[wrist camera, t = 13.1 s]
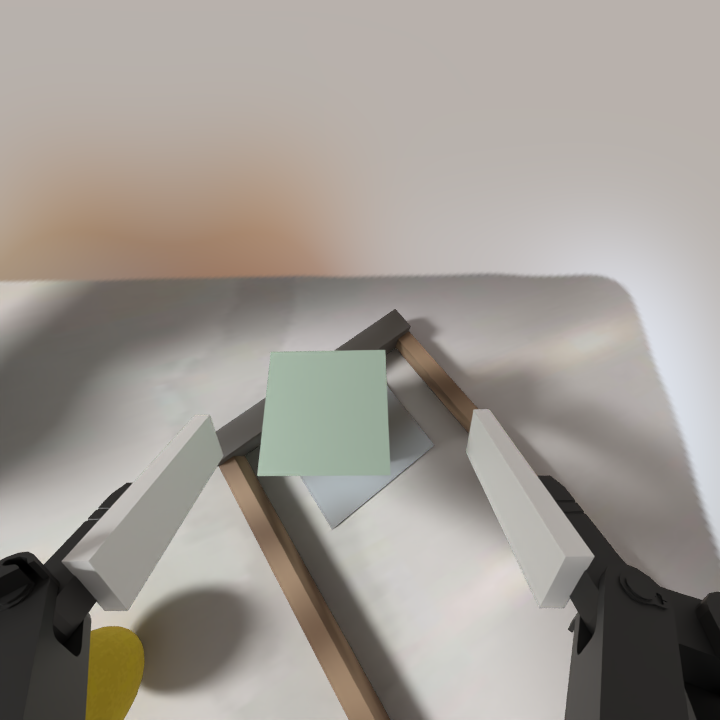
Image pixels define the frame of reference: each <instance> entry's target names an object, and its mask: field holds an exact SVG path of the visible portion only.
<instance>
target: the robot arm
mask: <svg viewBox="0 0 720 720" xmlns="http://www.w3.org/2000/svg"><path fill="white" fill-rule="evenodd" d="M466 453H467V455H468V458H469V460H470V462H471V464H472V466H473V468H474V470H475V472H476V475H477V477H478V479H479V481H480V483H481V485H482V487H483V489H484V492H485V494H486V496H487V498H488V500H489V502H490V504H491V506H492V509H493V511H494V513H495V515H496V517H497V519H498V521H499V523H500V526H501V528H502V530H503V532H504V534H505V536H506V538H507V540H508V543H509V545H510V547H511V549H512V551H513V553H514V555H515V557H516V560H517V562H518V564H519V566H520V568H521V570H522V572H523V574H524V577H525V579H526V581H527V583H528V585H529V587H530V589H531V591H532V594H533V596H534V598H535V600H536V602H537V604H538V606H539V608H564V607H565V606H566V604H567V602H568V601H569V599H571V600H572V602H573V604H574V606H575V607H576V609H577V611H578V613H577V614H576V616H575V617H574V619H573V620H572V622H571V624H570V626H569V628H568V630H569V631H571V632H573V631H574V638H573V647H572V656H571V665H570V674H569V683H568V692H567V701H566V710H565V720H720V592H714V593H709V594H708V595H707V596H706V597H705V598H704V599H703V600H700V599H697V598H694V597H691V596H687V595H684V594H681V593H678V592H674V591H671V590H668V589H665V588H662V587H660V586H659V585H658V584H657V583H655V582H654V581H653V580H652V579H651V578H650V577H649V576H647V575H646V574H644V573H643V572H641V571H640V570H638V569H637V568H634V567H632V566H629V565H627V564H626V563H625V562H624V561H623V560H622V559H621V558H620V557H619V555H618V554H617V553H616V552H615V550H614V549H613V548H612V546H611V545H610V544H609V543H608V541H607V540H606V539H605V538H604V536H603V535H602V534H601V533H600V531H599V530H598V529H597V528H596V526H595V525H594V524H593V522H592V521H591V520H590V519H589V517H588V516H587V515H586V514H584V511H583V510H582V509H581V507H580V506H579V505H578V504H577V503H575V500H574V498H573V497H572V496H571V495H570V493H569V492H568V491H567V490H566V488H565V487H564V486H563V485H561V484H560V483H559V482H557V481H556V480H555V479H554V478H552V477H551V476H537V475H536V474H535V472H534V471H533V469H532V468H531V467H530V465H529V464H528V463H527V461H526V460H525V458H524V457H523V456H522V454H521V453H520V451H519V450H518V449H517V447H516V446H515V444H514V443H513V442H512V440H511V439H510V437H509V436H508V435H507V433H506V432H505V430H504V429H503V428H502V426H501V425H500V423H499V422H498V421H497V419H496V418H495V416H494V415H493V414H492V412H491V411H490V409H474V410H473V415H472V421H471V426H470V432H469V437H468V442H467V448H466ZM222 457H223V453H222V450H221V447H220V444H219V441H218V438H217V435H216V432H215V429H214V426H213V423H212V420H211V417H210V415H194V416H193V417H192V419H191V420H190V421H189V422H188V423H187V424H186V425H185V426H184V427H183V428H182V430H181V431H180V432H179V433H178V434H177V435H176V436H175V437H174V438H173V439H172V441H171V442H170V443H169V444H168V445H167V446H166V447H165V448H164V449H163V450H162V452H161V453H160V454H159V455H158V456H157V457H156V458H155V459H154V460H153V461H152V462H151V464H150V465H149V466H148V467H147V468H146V469H145V470H144V471H143V472H142V473H141V475H140V476H139V477H138V478H137V479H136V480H135V481H134V482H133V483H126V484H125V485H123V486H122V487H120V488H119V489H118V490H116V491H115V492H113V493H112V494H111V495H110V496H109V497H108V498H107V499H106V500H105V501H104V502H103V503H102V504H101V505H100V506H99V509H98V510H96V511H95V512H94V513H93V514H92V515H91V516H90V517H89V518H88V521H85V522H84V523H83V524H82V525H81V526H80V527H79V528H78V529H77V530H76V532H75V533H74V534H73V535H72V536H71V537H70V538H69V539H68V540H67V541H66V542H65V543H64V544H63V545H62V546H61V547H60V548H59V549H58V550H57V551H56V552H55V554H54V555H53V556H52V557H51V558H50V559H49V560H48V561H47V562H46V563H45V564H44V565H43V564H42V563H41V562H40V561H39V560H38V559H37V557H36V556H35V555H34V554H32V553H30V552H22V553H17V554H14V555H11V556H9V557H6V558H4V559H2V560H0V720H85V718H86V701H87V684H88V668H89V651H90V634H91V617H90V614H89V613H88V612H89V611H90V610H91V608H92V607H93V605H94V604H95V603H96V601H97V603H98V604H99V605H100V606H101V607H102V608H103V609H104V611H128V610H129V608H130V607H131V605H132V603H133V602H134V600H135V598H136V597H137V595H138V594H139V592H140V590H141V589H142V587H143V586H144V584H145V582H146V581H147V579H148V577H149V576H150V574H151V573H152V571H153V569H154V568H155V566H156V564H157V563H158V561H159V560H160V558H161V556H162V555H163V553H164V551H165V550H166V548H167V547H168V545H169V543H170V542H171V540H172V538H173V537H174V535H175V534H176V532H177V530H178V529H179V527H180V526H181V524H182V522H183V521H184V519H185V517H186V516H187V514H188V513H189V511H190V509H191V508H192V506H193V504H194V503H195V501H196V500H197V498H198V496H199V495H200V493H201V491H202V490H203V488H204V487H205V485H206V483H207V482H208V480H209V479H210V477H211V475H212V474H213V472H214V470H215V469H216V467H217V466H218V464H219V462H220V461H221V459H222Z"/></svg>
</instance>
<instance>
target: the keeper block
mask: <svg viewBox="0 0 720 720" xmlns="http://www.w3.org/2000/svg"><path fill="white" fill-rule="evenodd" d="M362 475H390V451H389V427H388V402H387V378H386V354H385V350H352V351H296V352H271V355H270V364H269V373H268V382H267V391H266V400H265V409H264V418H263V427H262V436H261V446H260V455H259V464H258V473H257V476H362Z"/></svg>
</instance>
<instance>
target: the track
mask: <svg viewBox="0 0 720 720" xmlns="http://www.w3.org/2000/svg"><path fill="white" fill-rule="evenodd" d="M409 329H410V325H409V324H408V323H407V321H406V320H405V319H404V318H403V317H402V316H401V315H400V314H399V313H398V311H397V310H396V309H394V310H393V311H392V312H390V313H389V314H387V315H386V316H384V317H383V318H381V319H380V320H378V321H377V322H375V323H374V324H373V325H371V326H370V327H368V328H367V329H365V330H364V331H362V332H361V333H359V334H358V335H356V336H355V337H354V338H352V339H351V340H349V341H348V342H346V343H345V344H343V345H342V346H340V347H339V348H337V349H336V350H335V351H352V350H385V354H388V353H389V352H391V351H392V350H393V349H395V348H396V349H397V350H398V351H399V352H400V353H401V355H402V356H403V357H404V358H405V359H406V360H407V362H408V363H409V364H410V365H411V366H412V367H413V369H414V370H415V371H416V372H417V373H418V375H419V376H420V377H421V378H422V379H423V380H424V382H425V383H426V384H427V385H428V386H429V387H430V389H431V390H432V391H433V392H434V393H435V394H436V396H437V397H438V398H439V399H440V400H441V401H442V403H443V404H444V405H445V406H446V407H447V409H448V410H449V411H450V412H451V413H452V414H453V416H454V417H455V418H456V419H457V420H458V421H459V423H460V424H461V425H462V426H463V427H464V428H465V430H466V431H467V432H468V433H469V432H470V426H471V421H472V415H473V410H474V409H478V408H477V407H476V406H475V405H474V404H473V403H472V401H471V400H470V399H469V398H468V397H467V396H466V395H465V394H464V392H463V391H462V390H461V389H460V388H459V387H458V386H457V385H456V383H455V382H454V381H453V380H452V379H451V378H450V377H449V376H448V375H447V373H446V372H445V371H444V370H443V369H442V368H441V367H440V366H439V364H438V363H437V362H436V361H435V360H434V359H433V358H432V357H431V355H430V354H429V353H428V352H427V351H426V350H425V349H424V348H423V347H422V345H421V344H420V343H419V342H418V341H417V340H416V339H415V338H414V336H413V335H412V334H411V333H410V332H409ZM265 400H266V398H264V399H263V400H261V401H260V402H259V403H257V404H256V405H254V406H253V407H251V408H250V409H248V410H247V411H245V412H244V413H242V414H241V415H240V416H238V417H237V418H235V419H234V420H232V421H231V422H229V423H228V424H226V425H225V426H223V427H222V428H221V429H219V430H218V431H216V435H217V438H218V441H219V444H220V447H221V450H222V453H223V457H222V459H221V461H220V462H219V464H218V466H219V468H220V470H221V471H222V473H223V475H224V477H225V479H226V481H227V483H228V485H229V487H230V489H231V491H232V493H233V495H234V497H235V499H236V501H237V503H238V505H239V507H240V509H241V510H242V512H243V514H244V516H245V518H246V520H247V522H248V524H249V526H250V528H251V530H252V532H253V534H254V536H255V538H256V540H257V542H258V544H259V546H260V548H261V549H262V551H263V553H264V555H265V557H266V559H267V561H268V563H269V565H270V567H271V569H272V571H273V573H274V575H275V577H276V579H277V581H278V583H279V585H280V587H281V588H282V590H283V592H284V594H285V596H286V598H287V600H288V602H289V604H290V606H291V608H292V610H293V612H294V614H295V616H296V618H297V620H298V622H299V624H300V626H301V627H302V629H303V631H304V633H305V635H306V637H307V639H308V641H309V643H310V645H311V647H312V649H313V651H314V653H315V655H316V657H317V659H318V661H319V663H320V665H321V666H322V668H323V670H324V672H325V674H326V676H327V678H328V680H329V682H330V684H331V686H332V688H333V690H334V692H335V694H336V696H337V698H338V700H339V702H340V704H341V705H342V707H343V709H344V711H345V713H346V715H347V717H348V719H349V720H390V718H389V716H388V715H387V713H386V711H385V709H384V707H383V706H382V704H381V702H380V700H379V698H378V696H377V695H376V693H375V691H374V689H373V687H372V686H371V684H370V682H369V680H368V678H367V677H366V675H365V673H364V671H363V669H362V667H361V666H360V664H359V662H358V660H357V658H356V657H355V655H354V653H353V651H352V649H351V648H350V646H349V644H348V642H347V640H346V638H345V637H344V635H343V633H342V631H341V629H340V628H339V626H338V624H337V622H336V620H335V619H334V617H333V615H332V613H331V611H330V609H329V608H328V606H327V604H326V602H325V600H324V599H323V597H322V595H321V593H320V591H319V590H318V588H317V586H316V584H315V582H314V580H313V579H312V577H311V575H310V573H309V571H308V570H307V568H306V566H305V564H304V562H303V561H302V559H301V557H300V555H299V553H298V551H297V550H296V548H295V546H294V544H293V542H292V541H291V539H290V537H289V535H288V533H287V532H286V530H285V528H284V526H283V524H282V522H281V521H280V519H279V517H278V515H277V513H276V512H275V510H274V508H273V506H272V504H271V503H270V501H269V499H268V497H267V495H266V493H265V492H264V490H263V488H262V486H261V484H260V483H259V481H258V479H257V477H256V475H255V474H254V472H253V470H252V468H251V466H250V464H249V463H248V461H247V459H246V457H245V455H247V454H248V453H250V452H251V451H252V450H254V449H255V448H257V447H258V446H259V445H261V436H262V427H263V418H264V409H265ZM387 402H388V427H389V451H390V475H362V476H300V477H301V479H302V480H303V482H304V484H305V485H306V487H307V488H308V490H309V492H310V493H311V495H312V497H313V498H314V500H315V502H316V503H317V505H318V507H319V508H320V510H321V512H322V513H323V515H324V517H325V518H326V520H327V522H328V523H329V525H330V527H331V528H332V529H333V528H335V527H336V526H337V525H338V524H339V523H341V522H342V521H343V520H344V519H346V518H347V517H348V516H349V515H350V514H352V513H353V512H354V511H355V510H356V509H358V508H359V507H360V506H361V505H363V504H364V503H365V502H366V501H367V500H369V499H370V498H371V497H372V496H373V495H375V494H376V493H377V492H378V491H380V490H381V489H382V488H383V487H384V486H386V485H387V484H388V483H389V482H390V481H392V480H393V479H394V478H395V477H397V476H398V475H399V474H400V473H401V472H403V471H404V470H405V469H406V468H407V467H409V466H410V465H411V464H412V463H413V462H415V461H416V460H417V459H418V458H420V457H421V456H422V455H423V454H424V453H426V452H427V451H428V450H429V449H430V448H432V447H433V446H434V444H433V443H432V441H431V440H430V439H429V438H428V436H427V435H426V434H425V433H424V431H423V430H422V429H421V428H420V426H419V425H418V424H417V423H416V421H415V420H414V419H413V418H412V416H411V415H410V414H409V413H408V411H407V410H406V409H405V408H404V406H403V405H402V404H401V403H400V401H399V400H398V399H397V398H396V396H395V395H394V394H393V393H392V391H391V390H390V389H389V388H388V386H387ZM535 474H536V473H535ZM536 475H537V474H536ZM537 476H538V475H537Z"/></svg>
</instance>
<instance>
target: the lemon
mask: <svg viewBox="0 0 720 720" xmlns="http://www.w3.org/2000/svg"><path fill="white" fill-rule="evenodd" d="M144 662H145V661H144V650H143V646H142V643H141V641H140V640H139V638H138V636H137V635H136V634H135V633H133V632H132V631H131V630H129V629H126V628H123V627H119V626H108V627H102V628H99V629H96V630H93V631H91V634H90V651H89V668H88V684H87V701H86V718H85V720H124V718H125V716H126V715H127V713H128V711H129V709H130V707H131V705H132V703H133V701H134V699H135V697H136V695H137V692H138V689H139V686H140V683H141V680H142V677H143V670H144Z"/></svg>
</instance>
